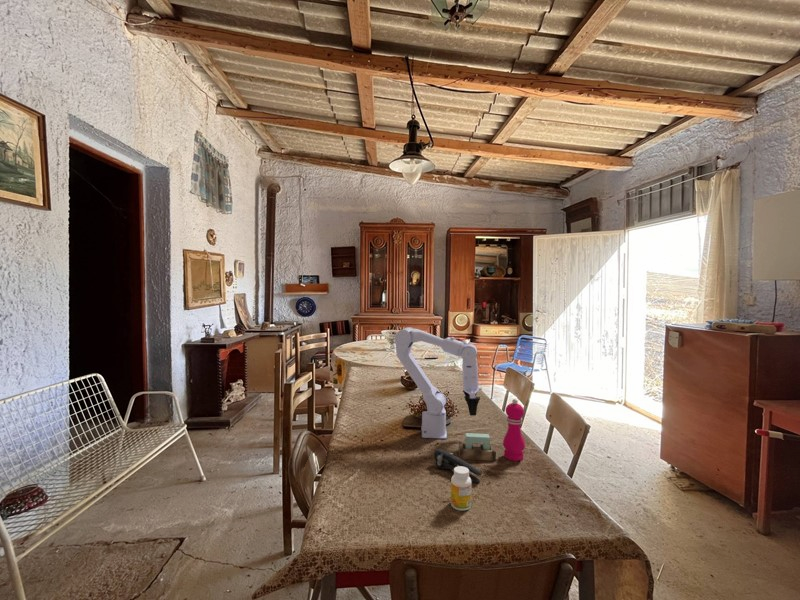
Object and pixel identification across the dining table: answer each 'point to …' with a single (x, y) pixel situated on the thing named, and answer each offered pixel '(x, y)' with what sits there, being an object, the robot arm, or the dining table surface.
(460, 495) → the supplement bottle
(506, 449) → the pepper mill
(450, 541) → the dining table surface
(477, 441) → the mint green foam block
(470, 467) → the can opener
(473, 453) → the brown wooden frame
